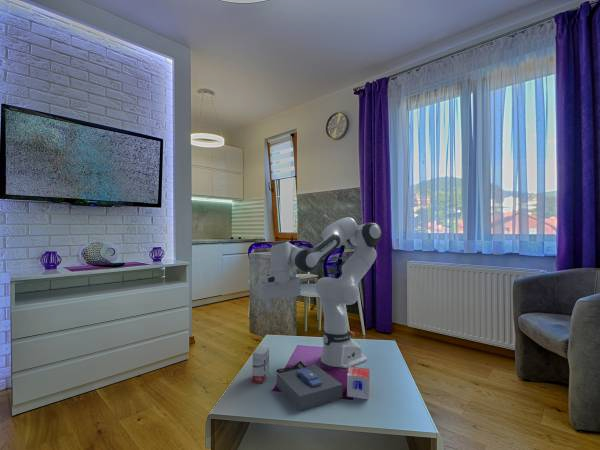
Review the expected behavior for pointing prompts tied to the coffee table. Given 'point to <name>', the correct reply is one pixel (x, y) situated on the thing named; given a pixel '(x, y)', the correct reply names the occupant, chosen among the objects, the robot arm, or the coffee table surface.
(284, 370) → the calculator
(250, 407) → the coffee table surface
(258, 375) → the ink box
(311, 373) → the block
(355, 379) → the white red cube carton
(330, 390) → the plate
